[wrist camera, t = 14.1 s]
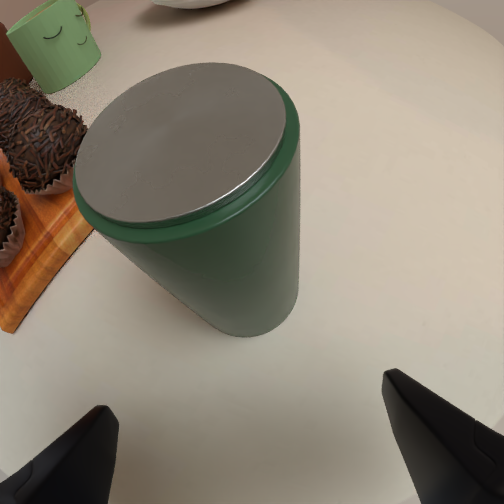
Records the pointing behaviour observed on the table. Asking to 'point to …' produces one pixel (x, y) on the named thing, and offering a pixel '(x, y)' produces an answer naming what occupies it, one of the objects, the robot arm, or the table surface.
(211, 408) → the table surface
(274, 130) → the can
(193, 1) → the bowl
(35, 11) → the mug
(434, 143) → the table surface
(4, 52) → the bottle
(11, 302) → the truffle serving board
